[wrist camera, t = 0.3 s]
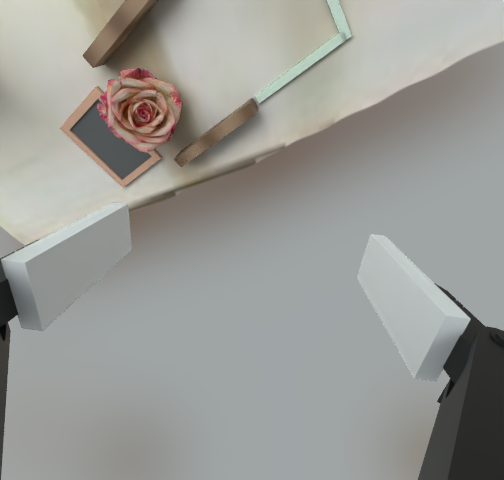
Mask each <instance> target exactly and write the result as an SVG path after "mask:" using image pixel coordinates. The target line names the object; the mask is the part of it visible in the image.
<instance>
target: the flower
mask: <svg viewBox="0 0 504 480" xmlns="http://www.w3.org/2000/svg"><path fill="white" fill-rule="evenodd" d="M118 78H119V79H120V82H117V80H115V79H112V80H108V90H107V91H106V92H105V93H103V94H102V95H100V99H101V102H102V103H103V105H102V104H100V103H99V104H97V109H98V110H99V112H101V113H99V114H100V117H101V118H102V119H103V120H105V122H106V124H107V125H108V128H109V130H111V131H112V132H113V133H114V135H115V136H116V137H118V138H120V139H122V140H125V142H126V143H128V144H131V145H132V146H134V147H135V148H136V149H138V150H139V151H142V152H147V153H148V152H151V151H153V150H154V149H156V148H157V147H159V146H161V145H162V144H164V143H165V142H166V141H169V140H170V138H172V137H171V135H172V134H174V130H175V127H176V124H177V122H178V121H179V118H180V113H181V108H182V101H181V100H180V99H179V98H177V97H179V94H178V92H177V90H176V88H175V86H174V85H172V84H169V83H167V82H164V81H160V80H157V78H154V77H153V75H152V73H150V71H149V70H148V69H147V70H144V69H143V68H142V70H141V69H140V70H139V68H137V69H136V70H135V69H127V70H123V71H120V76H119V77H118ZM172 110H173V111H172Z"/></svg>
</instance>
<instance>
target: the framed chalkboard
mask: <svg viewBox="0 0 504 480" xmlns="http://www.w3.org/2000/svg"><path fill="white" fill-rule="evenodd" d="M102 94H103V92H102V91H101V89H100V88H99V87H98V86H97V87H95V89H94V90H93V91H92V92H91V93H90V94H89V95H88V97H87V98H86V99H85V100H84V101H83V102H82V103H81V105H80V106H79V107H78V108H77V109H76V110H75V111H74V113H73V114H72V115H71V116H70V117H69V118H68V119H67V121H66V122H65V123H64V124H63V125H62V126H61V127H60V129H61V130H62V131H63V132H64V133H65V134H66V135H68V136H69V137H70V138H71V139H72V140H73V141H74V142H75V143H76V144H77V145H78V146H79V147H80V148H81V149H82V150H83V151H85V152H86V153H87V154H88V155H89V156H90V157H91V158H92V159H93V160H94V161H95V162H96V163H97V164H98V165H99V166H101V167H102V168H103V169H104V170H105V171H106V172H107V173H108V174H109V175H110V176H111V177H112V178H113V179H114V180H115V181H116V182H118V183H119V184H120V185H121V186H122V187H125V186H126V185H127V184H128V183H130V182H131V181H132V180H134V179H135V178H136V177H138V176H139V175H140V174H141V173H143V172H144V171H145V170H147V169H148V168H149V167H151V166H152V165H153V164H154V163H156V162H157V161H158V160H160V159H161V158H162V157H161V156H160V155H159V153H158V152H157V151H156V150H155V149H154V150H153V151H151V152H148V153H147V152H142V151H139V150H138V149H136V148H135V147H134V146H132V145H131V144H128V143H126V142H125V140H122V139H120V138H118V137H116V136H115V135H114V133H113V132H112V131H111V130H109V128H108V125H107V124H106V122H105V120H103V119H102V118H101V117H100V114H99V113H101V112H99V110H98V109H97V104H99V103H100V104H102V105H103V103H102V102H101V99H100V95H102Z"/></svg>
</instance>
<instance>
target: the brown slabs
mask: <svg viewBox="0 0 504 480" xmlns="http://www.w3.org/2000/svg"><path fill="white" fill-rule="evenodd" d="M157 1H158V0H125V1H124V3H123V4H122V5H121V7H120V8H119V9H118V10H117V12H116V13H115V14H114V16H113V17H112V18H111V20H110V21H109V22H108V23H107V25H106V26H105V27H104V29H103V30H102V31H101V32H100V34H99V35H98V36H97V38H96V39H95V40H94V41H93V43H92V44H91V45H90V47H89V48H88V49H87V51H86V52H85V53H84V54H83V57H84V58H85V59H86V60H87V62H88V63H89V64H90V65H91V66H92V67H93V68H94V67H98V66H101V65H104V64H105V63H106V62H107V60H108V59H109V58H110V57H111V56H112V55H113V53H114V52H115V51H116V50H117V49H118V47H119V46H120V45H121V44H122V43H123V41H124V40H125V39H126V38H127V37H128V36H129V34H130V33H131V32H132V31H133V30H134V28H135V27H136V26H137V25H138V24H139V23H140V21H141V20H142V19H143V18H144V17H145V15H146V14H147V13H148V12H149V11H150V10H151V8H152V7H153V6H154V5H155V4H156V2H157ZM257 111H258V106H257V105H256V103H255V102H254V100H253V98H252V99H250V100H249V101H248V102H246V103H245V104H244V105H242V106H241V107H240V108H238V109H237V110H236V111H234V112H233V113H232V114H230V115H229V116H228V117H226V118H225V119H224V120H222V121H221V122H220V123H218V124H217V125H216V126H214V127H213V128H212V129H210V130H209V131H208V132H206V133H205V134H204V135H202V136H201V137H200V138H198V139H197V140H196V141H194V142H193V143H192V144H190V145H189V146H188V147H186V148H185V149H184V150H182V151H181V152H180V153H179V154H178V155H177V156H176V158H175V159H174V160H175V161H176V162H177V164H178V165H179V166H180V167H182V166H184V165H185V164H187V163H188V162H189V161H191V160H192V159H194V158H195V157H196V156H198V155H199V154H201V153H202V152H203V151H205V150H206V149H208V148H209V147H210V146H212V145H213V144H215V143H216V142H218V141H219V140H220V139H222V138H223V137H225V136H226V135H227V134H229V133H230V132H232V131H233V130H234V129H236V128H237V127H239V126H240V125H241V124H243V123H244V122H246V121H247V120H248V119H250V118H251V117H253V116H254V115H255V114H257Z"/></svg>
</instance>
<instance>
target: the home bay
mask: <svg viewBox="0 0 504 480" xmlns="http://www.w3.org/2000/svg"><path fill="white" fill-rule="evenodd" d="M326 1H327V3H328V6H329V8H330V11H331V13H332V16H333V18H334V21H335V23H336V26H337V28H338V31H339V33H338V34H337V35H335V36H334V37H333V38H331V39H330V40H329V41H327V42H326V43H325V44H323V45H322V46H321V47H319V48H318V49H317V50H315V51H314V52H313V53H311V54H310V55H309V56H307V57H306V58H305V59H303V60H302V61H301V62H299V63H298V64H297V65H295V66H294V67H293V68H291V69H290V70H289V71H287V72H286V73H285V74H283V75H282V76H281V77H280V78H278V79H277V80H276V81H274V82H273V83H272V84H270V85H269V86H268V87H266V88H265V89H264V90H262V91H261V92H260V93H258V94H257V95H256V96H255V97H256V99H257V100H258V102H259V103H260V102H262V101H263V100H265V99H266V98H267V97H269V96H270V95H271V94H273V93H274V92H276V91H277V90H278V89H280V88H281V87H282V86H284V85H285V84H287V83H288V82H289V81H291V80H292V79H293V78H295V77H296V76H298V75H299V74H300V73H302V72H303V71H304V70H306V69H307V68H309V67H310V66H311V65H313V64H314V63H315V62H317V61H318V60H319V59H321V58H322V57H324V56H325V55H326V54H328V53H329V52H330V51H332V50H333V49H335V48H336V47H337V46H339V45H340V44H341V43H343V42H344V41H346V40H347V39H348V38H350V37H351V36H352V35H351V32H350V29H349V27H348V24H347V21H346V19H345V16H344V13H343V11H342V8H341V5H340V3H339V0H326Z"/></svg>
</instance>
